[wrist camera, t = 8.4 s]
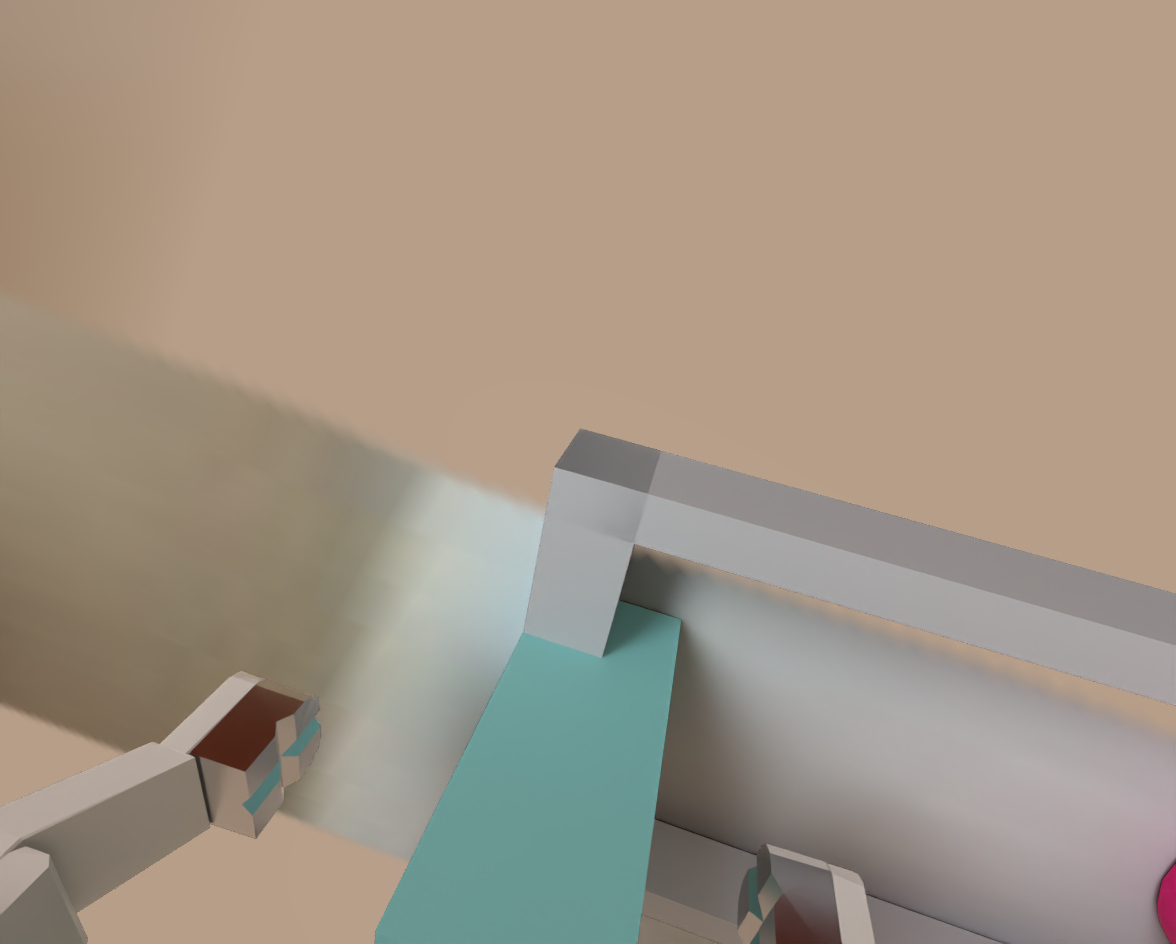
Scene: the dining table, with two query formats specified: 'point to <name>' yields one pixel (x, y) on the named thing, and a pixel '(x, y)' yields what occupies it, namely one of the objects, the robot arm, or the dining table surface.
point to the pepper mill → (1168, 905)
